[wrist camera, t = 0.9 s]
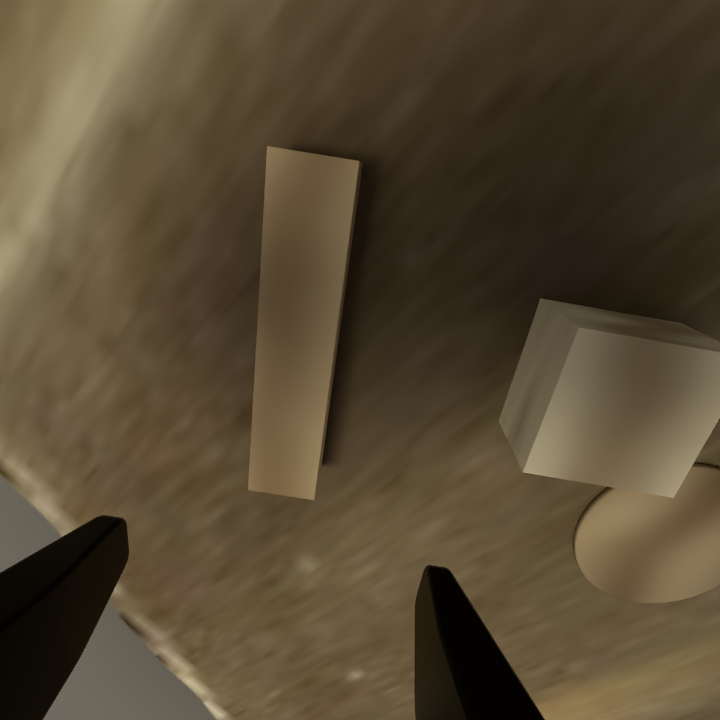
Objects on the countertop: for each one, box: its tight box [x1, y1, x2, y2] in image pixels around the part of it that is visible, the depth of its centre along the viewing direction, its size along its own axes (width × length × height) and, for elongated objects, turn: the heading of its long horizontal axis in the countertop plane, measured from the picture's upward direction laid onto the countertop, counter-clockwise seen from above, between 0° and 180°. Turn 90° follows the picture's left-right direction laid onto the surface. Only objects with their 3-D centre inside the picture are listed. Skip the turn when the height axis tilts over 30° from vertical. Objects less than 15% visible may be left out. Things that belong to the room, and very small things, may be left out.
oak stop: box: [248, 146, 363, 500], centre depth 18 cm, size 3×14×2 cm, turn 172°
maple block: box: [499, 298, 720, 498], centre depth 17 cm, size 6×6×4 cm
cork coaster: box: [573, 463, 720, 603], centre depth 22 cm, size 9×9×1 cm
